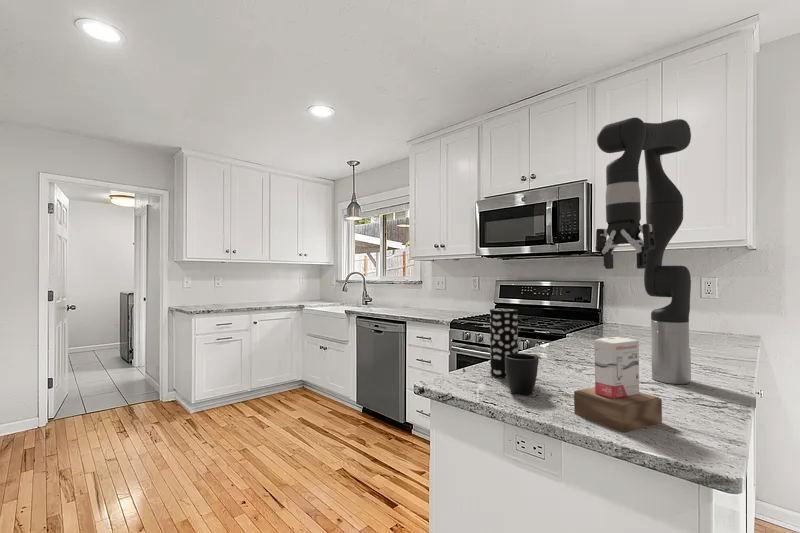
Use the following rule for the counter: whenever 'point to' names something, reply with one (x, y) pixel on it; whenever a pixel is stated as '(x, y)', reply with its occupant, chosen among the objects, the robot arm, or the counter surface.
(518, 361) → the mug
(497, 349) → the white-spotted black cylinder
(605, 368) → the ink box
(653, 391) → the counter surface
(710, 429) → the counter surface
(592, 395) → the brown flat block
